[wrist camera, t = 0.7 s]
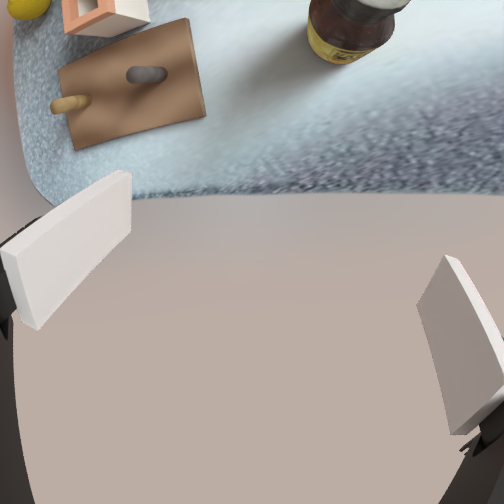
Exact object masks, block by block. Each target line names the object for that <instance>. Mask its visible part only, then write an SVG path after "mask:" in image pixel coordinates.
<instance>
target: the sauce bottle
mask: <svg viewBox="0 0 504 504" xmlns="http://www.w3.org/2000/svg"><path fill="white" fill-rule="evenodd" d="M409 2H410V0H311V2H310V6H309V16H308V27H307V36H308V41H309V44H310V46H311V47H312V49H313V51H314V52H315V54H316V55H318V56H319V57H320V58H322V59H324V60H326V61H328V62H331V63H334V64H348V63H352V62H354V61H356V60H358V59H360V58H361V57H363V56H365V55H367V54H368V53H370V52H372V51H373V50H375V49H377V48H378V47H380V46H381V45H383V44H384V43H386V42H387V41H388V40H389V39H390V37H391V36H392V34H393V31H394V27H395V21H394V14H395V13H397V12H399V11H401V10H402V9H403V8H404V7H405V6H406V5H407V4H408V3H409Z"/></svg>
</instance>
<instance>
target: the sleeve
mask: <svg viewBox="0 0 504 504" xmlns="http://www.w3.org/2000/svg"><path fill="white" fill-rule="evenodd" d="M62 12H63V22H64V31H65V34H76V35H89V36H100V37H109V38H112V37H114V36H117V35H119V34H122V33H124V32H127V31H129V30H132V29H134V28H137V27H139V26H142V25H145V24H148V23H150V16H149V10H148V3H147V0H62Z"/></svg>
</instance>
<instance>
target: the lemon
mask: <svg viewBox="0 0 504 504" xmlns="http://www.w3.org/2000/svg"><path fill="white" fill-rule="evenodd" d="M50 3H51V0H9V1H8V6H7V8H8V12H9V14H10V15H11V16H12V17H14V18H16V19H20V20H31V19H35V18H37V17H39V16H41V15H42V14H43V13H44V12H45V11H46V10H47V9H48V7H49V5H50Z"/></svg>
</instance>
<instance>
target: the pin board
mask: <svg viewBox="0 0 504 504" xmlns="http://www.w3.org/2000/svg"><path fill="white" fill-rule="evenodd" d="M58 73H59V79H60V85H61V91H62V96H63V98H59V99H55V100H53V101H52V102H51V105H50V109H51V112H52V113H53V114H60V113H64V112H66V116H67V121H68V125H69V129H70V134H71V138H72V142H73V146H74V150H78V149H81V148H84V147H87V146H90V145H93V144H96V143H100V142H103V141H106V140H110V139H113V138H117V137H120V136H124V135H127V134H131V133H135V132H139V131H142V130H146V129H150V128H155V127H159V126H163V125H167V124H172V123H176V122H181V121H185V120H190V119H195V118H200V117H204V116H206V111H205V106H204V100H203V95H202V90H201V84H200V79H199V73H198V68H197V62H196V57H195V51H194V45H193V40H192V34H191V28H190V22H189V19H187V18H182V19H179V20H175V21H172V22H169V23H166V24H163V25H160V26H157V27H154V28H151V29H148V30H145V31H142V32H140V33H137V34H134V35H132V36H129V37H127V38H124V39H122V40H119V41H117V42H114V43H112V44H110V45H107V46H105V47H103V48H101V49H98V50H96V51H94V52H92V53H90V54H88V55H86V56H84V57H82V58H79V59H77V60H75V61H73V62H72V63H70V64H68V65H66V66H64V67H62V68H60V69H58Z"/></svg>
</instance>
